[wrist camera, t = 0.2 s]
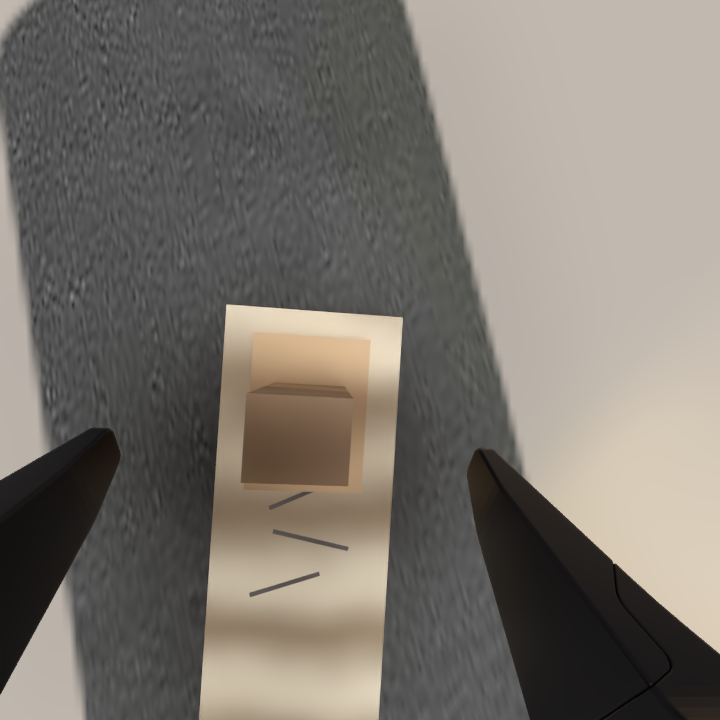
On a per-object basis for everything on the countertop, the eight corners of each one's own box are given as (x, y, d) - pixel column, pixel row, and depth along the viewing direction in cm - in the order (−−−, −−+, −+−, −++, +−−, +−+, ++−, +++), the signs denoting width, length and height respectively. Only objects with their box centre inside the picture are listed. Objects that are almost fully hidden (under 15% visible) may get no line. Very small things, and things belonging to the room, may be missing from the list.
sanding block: (358, 480, 21) (378, 560, 13) (251, 477, 21) (198, 557, 12) (366, 342, 21) (392, 328, 13) (260, 334, 21) (214, 316, 12)
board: (371, 687, 24) (377, 734, 21) (214, 690, 23) (197, 739, 20) (393, 323, 24) (402, 317, 21) (239, 311, 24) (226, 304, 21)
